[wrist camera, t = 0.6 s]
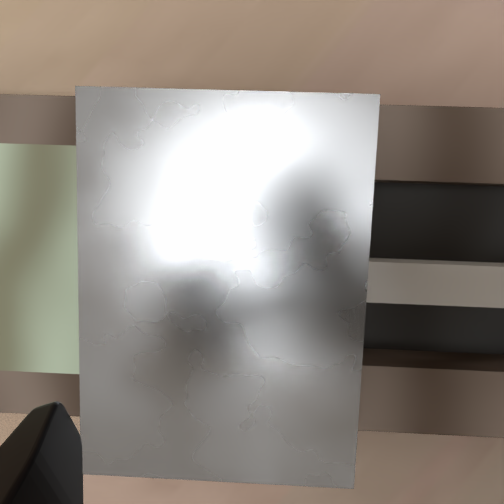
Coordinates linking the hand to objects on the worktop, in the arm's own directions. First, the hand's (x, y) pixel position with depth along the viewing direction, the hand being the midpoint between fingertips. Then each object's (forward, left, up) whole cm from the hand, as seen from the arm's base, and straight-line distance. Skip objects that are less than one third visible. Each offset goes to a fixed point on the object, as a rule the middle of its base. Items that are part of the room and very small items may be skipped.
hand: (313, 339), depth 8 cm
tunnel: (+2, +1, -11) cm, 11 cm away
